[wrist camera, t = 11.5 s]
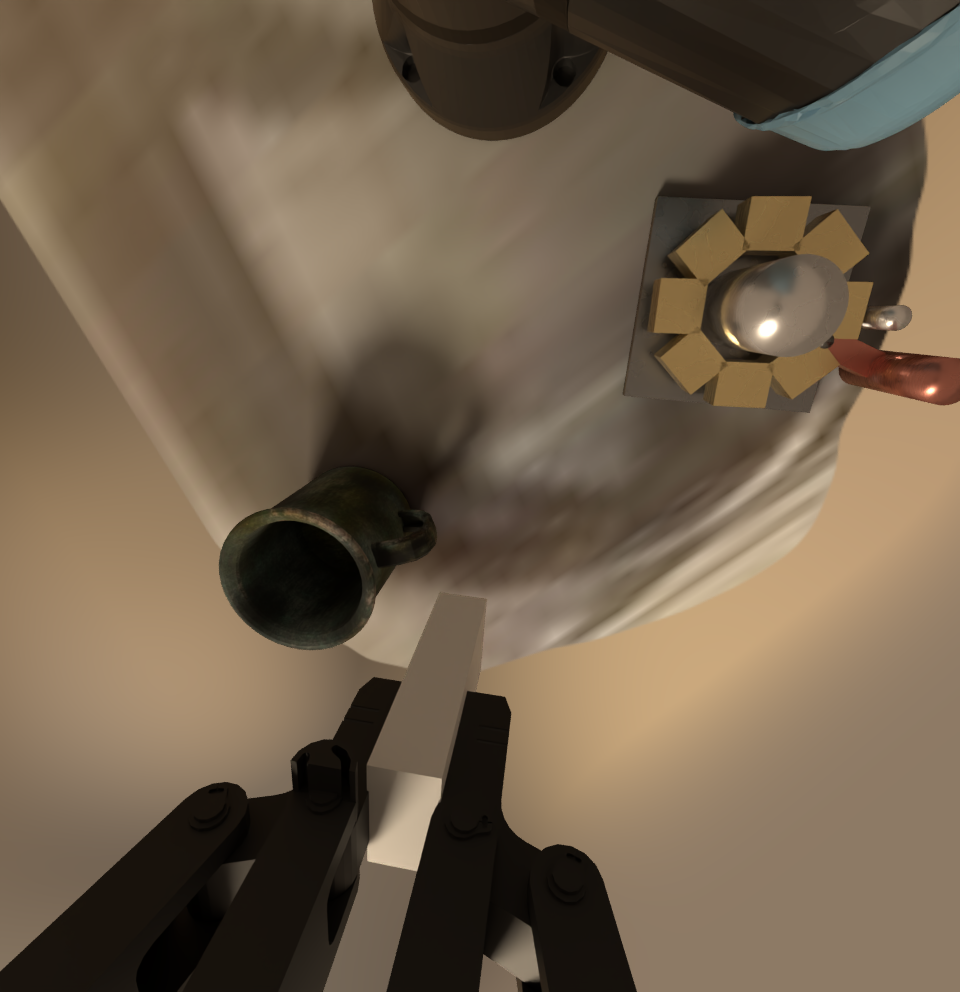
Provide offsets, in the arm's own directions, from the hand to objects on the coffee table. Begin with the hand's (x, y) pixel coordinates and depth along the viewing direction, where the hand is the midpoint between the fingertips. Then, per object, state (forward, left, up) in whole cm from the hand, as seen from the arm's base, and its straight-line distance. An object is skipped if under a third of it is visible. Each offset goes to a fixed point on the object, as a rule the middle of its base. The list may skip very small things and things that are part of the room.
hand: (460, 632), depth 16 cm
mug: (+8, -12, -27) cm, 30 cm away
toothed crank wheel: (-10, +16, -25) cm, 31 cm away
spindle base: (-11, +14, -26) cm, 32 cm away
